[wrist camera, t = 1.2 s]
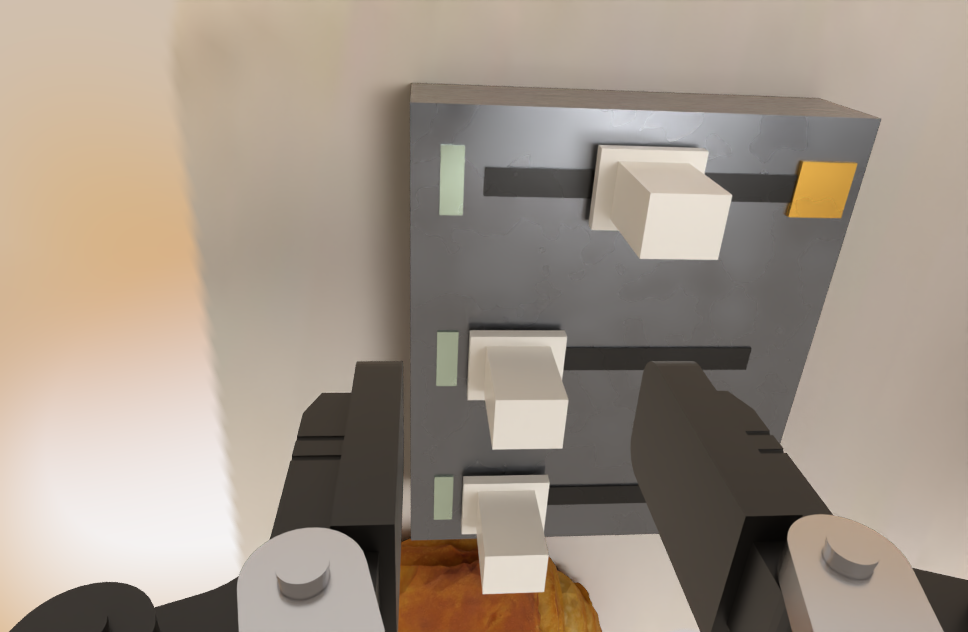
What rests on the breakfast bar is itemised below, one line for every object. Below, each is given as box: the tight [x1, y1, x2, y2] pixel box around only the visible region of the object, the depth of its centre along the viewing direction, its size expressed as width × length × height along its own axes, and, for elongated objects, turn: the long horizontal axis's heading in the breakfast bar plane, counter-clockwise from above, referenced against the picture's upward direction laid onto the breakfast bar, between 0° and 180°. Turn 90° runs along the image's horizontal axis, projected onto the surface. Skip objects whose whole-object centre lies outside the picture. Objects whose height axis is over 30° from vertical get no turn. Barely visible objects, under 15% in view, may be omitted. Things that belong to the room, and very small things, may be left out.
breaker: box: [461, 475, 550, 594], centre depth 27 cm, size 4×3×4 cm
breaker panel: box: [410, 83, 881, 540], centre depth 28 cm, size 16×19×4 cm
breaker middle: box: [467, 330, 568, 450], centre depth 24 cm, size 4×3×4 cm
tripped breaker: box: [588, 145, 732, 260], centre depth 21 cm, size 4×3×4 cm
